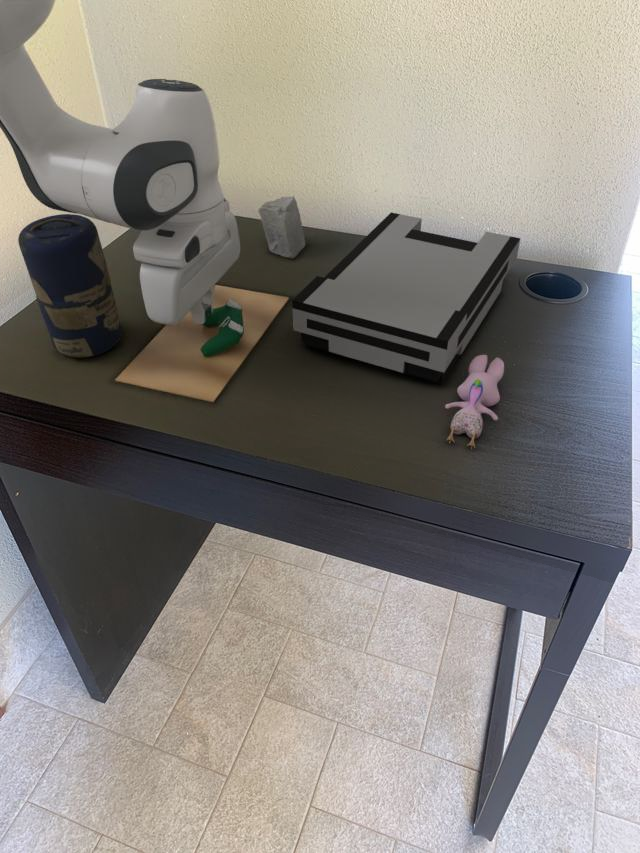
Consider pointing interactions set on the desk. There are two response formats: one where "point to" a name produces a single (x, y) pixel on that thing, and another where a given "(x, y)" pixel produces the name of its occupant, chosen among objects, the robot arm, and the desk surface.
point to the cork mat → (180, 348)
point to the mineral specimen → (283, 226)
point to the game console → (405, 297)
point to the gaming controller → (224, 328)
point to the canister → (71, 284)
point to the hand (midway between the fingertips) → (203, 318)
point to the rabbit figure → (476, 397)
